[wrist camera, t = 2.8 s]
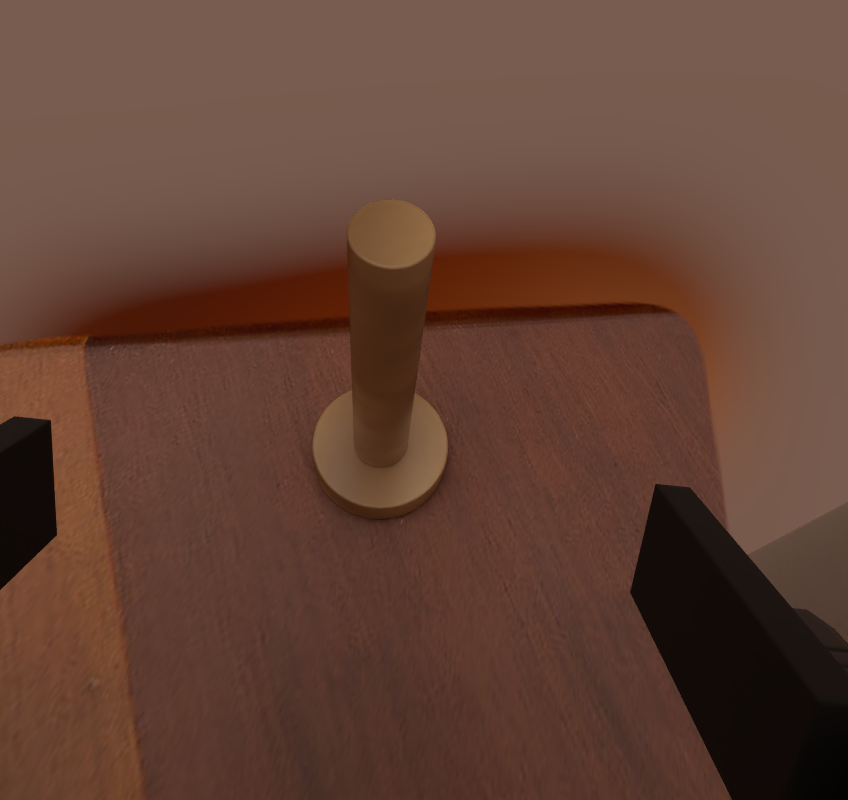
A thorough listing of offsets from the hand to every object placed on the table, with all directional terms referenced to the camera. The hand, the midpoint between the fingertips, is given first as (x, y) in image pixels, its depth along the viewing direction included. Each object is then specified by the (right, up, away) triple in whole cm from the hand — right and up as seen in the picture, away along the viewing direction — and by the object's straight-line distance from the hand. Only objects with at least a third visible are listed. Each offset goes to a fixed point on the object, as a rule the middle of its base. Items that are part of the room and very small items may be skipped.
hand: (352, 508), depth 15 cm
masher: (0, 0, +15) cm, 15 cm away
